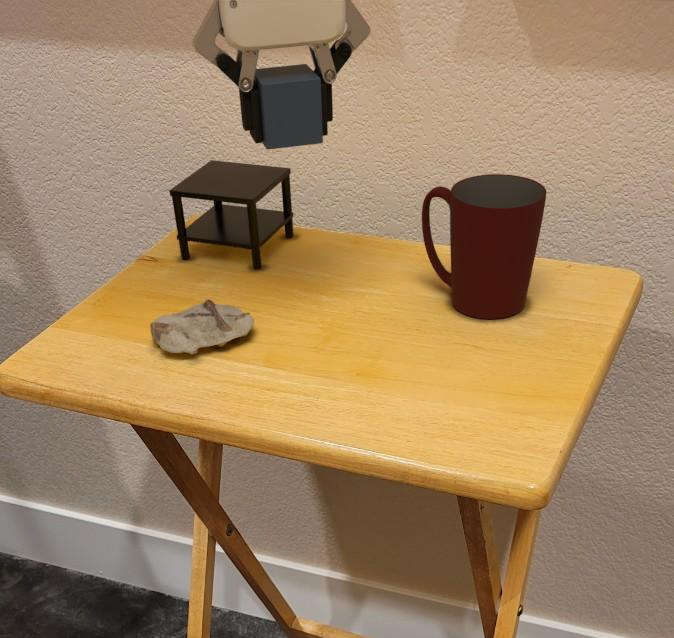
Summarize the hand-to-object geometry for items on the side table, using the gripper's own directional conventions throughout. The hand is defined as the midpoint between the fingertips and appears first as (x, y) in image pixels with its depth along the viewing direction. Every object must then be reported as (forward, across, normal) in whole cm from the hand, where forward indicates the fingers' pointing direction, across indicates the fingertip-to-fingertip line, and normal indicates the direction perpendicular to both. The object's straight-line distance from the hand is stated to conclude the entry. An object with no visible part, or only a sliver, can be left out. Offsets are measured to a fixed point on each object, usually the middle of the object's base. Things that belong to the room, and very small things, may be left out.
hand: (288, 132), depth 77 cm
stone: (+18, +10, +1) cm, 20 cm away
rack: (+17, +3, -19) cm, 26 cm away
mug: (+17, -18, +2) cm, 25 cm away
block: (0, 0, 0) cm, 0 cm away
